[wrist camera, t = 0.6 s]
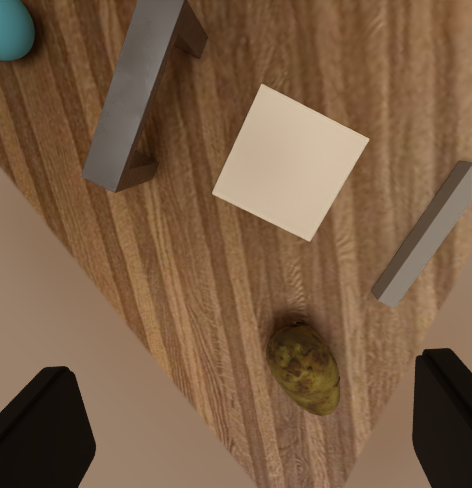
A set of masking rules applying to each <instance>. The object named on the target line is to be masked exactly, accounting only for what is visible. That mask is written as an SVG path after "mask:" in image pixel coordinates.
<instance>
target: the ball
mask: <svg viewBox="0 0 472 488" xmlns="http://www.w3.org/2000/svg"><path fill="white" fill-rule="evenodd" d="M34 38H35V29H34V24H33V21H32V18H31V16H30V14H29V12H28V10H27V9H26V7H25V6H24V5H23V3H22V2H21V1H20V0H0V60H3V61H12V60H16V59H19V58H21V57H23V56H25V55H26V54H27V53H28V52H29V51H30V49H31V48H32V45H33V43H34Z"/></svg>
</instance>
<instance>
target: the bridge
mask: <svg viewBox="0 0 472 488" xmlns="http://www.w3.org/2000/svg"><path fill="white" fill-rule="evenodd" d="M207 39H208V36H207V34H206V33H205V31H204V29H203V28H202V26H201V24H200V22H199V21H198V19H197V17H196V16H195V14H194V12H193V10H192V9H191V7H190V5H189V3H188V2H187V0H137V4H136V7H135V10H134V13H133V16H132V19H131V22H130V25H129V29H128V32H127V35H126V38H125V41H124V44H123V47H122V50H121V54H120V57H119V60H118V63H117V66H116V69H115V72H114V75H113V79H112V82H111V85H110V88H109V91H108V94H107V97H106V100H105V104H104V107H103V110H102V113H101V116H100V119H99V122H98V125H97V129H96V132H95V135H94V138H93V141H92V144H91V147H90V150H89V154H88V157H87V160H86V163H85V166H84V169H83V172H82V175H81V177H83V178H85V179H87V180H89V181H91V182H93V183H95V184H97V185H99V186H102V187H104V188H106V189H108V190H110V191H112V192H114V193H116V192H119V191H122V190H124V189H127V188H130V187H133V186H136V185H138V184H141V183H144V182H147V181H149V180H152V179H153V177H154V175H155V172H156V169H157V167H158V164H159V162H157V161H155V160H153V159H151V158H149V157H147V156H145V155H143V154H141V153H139V152H137V151H135V150H136V148H137V145H138V142H139V139H140V137H141V134H142V131H143V128H144V126H145V123H146V120H147V117H148V115H149V112H150V109H151V106H152V104H153V101H154V98H155V95H156V93H157V90H158V87H159V84H160V82H161V79H162V76H163V73H164V71H165V68H166V65H167V62H168V60H169V57H170V54H171V51H172V49H173V46H174V45H175V46H177V47H178V48H180V49H182V50H184V51H186V52H188V53H190V54H192V55H194V56H196V57H198V58H200V57H201V54H202V52H203V49H204V47H205V44H206V42H207Z"/></svg>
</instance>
